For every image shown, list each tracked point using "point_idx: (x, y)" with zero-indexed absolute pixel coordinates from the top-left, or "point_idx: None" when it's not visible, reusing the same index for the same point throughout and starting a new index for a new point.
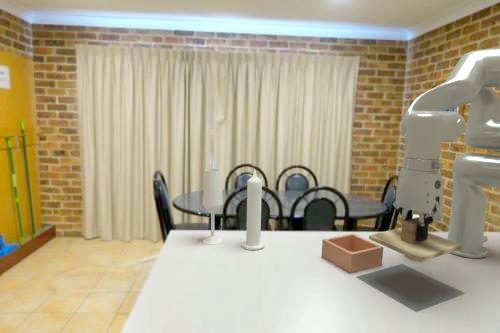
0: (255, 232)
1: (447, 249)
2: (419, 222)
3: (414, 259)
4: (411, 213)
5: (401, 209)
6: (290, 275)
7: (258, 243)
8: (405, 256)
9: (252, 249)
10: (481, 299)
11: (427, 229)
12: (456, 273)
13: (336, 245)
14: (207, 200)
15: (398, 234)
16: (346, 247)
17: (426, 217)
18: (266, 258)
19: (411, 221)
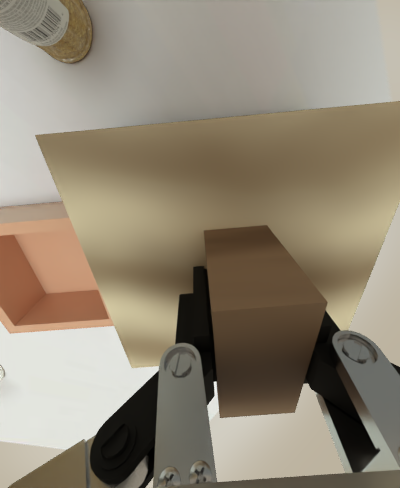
0: None
1: (384, 235)
2: (320, 403)
3: (86, 43)
4: (201, 406)
5: (145, 480)
6: (112, 361)
7: None
8: (55, 57)
9: (2, 376)
10: (350, 81)
11: (328, 317)
12: None
13: (57, 325)
14: None
15: (157, 289)
16: (5, 243)
17: (366, 402)
18: (41, 367)
19: (253, 392)
